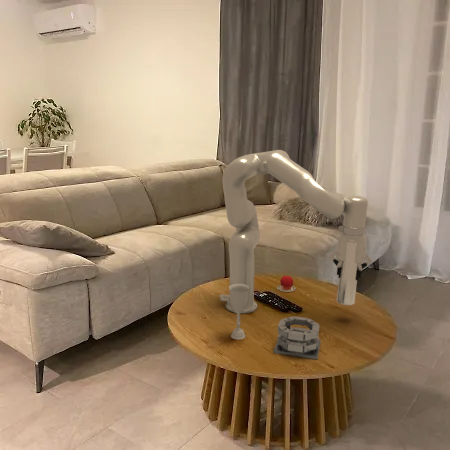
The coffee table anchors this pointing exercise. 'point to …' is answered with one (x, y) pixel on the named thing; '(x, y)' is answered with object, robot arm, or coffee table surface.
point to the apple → (286, 284)
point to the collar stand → (298, 338)
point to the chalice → (238, 306)
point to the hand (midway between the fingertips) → (348, 277)
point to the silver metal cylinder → (348, 276)
